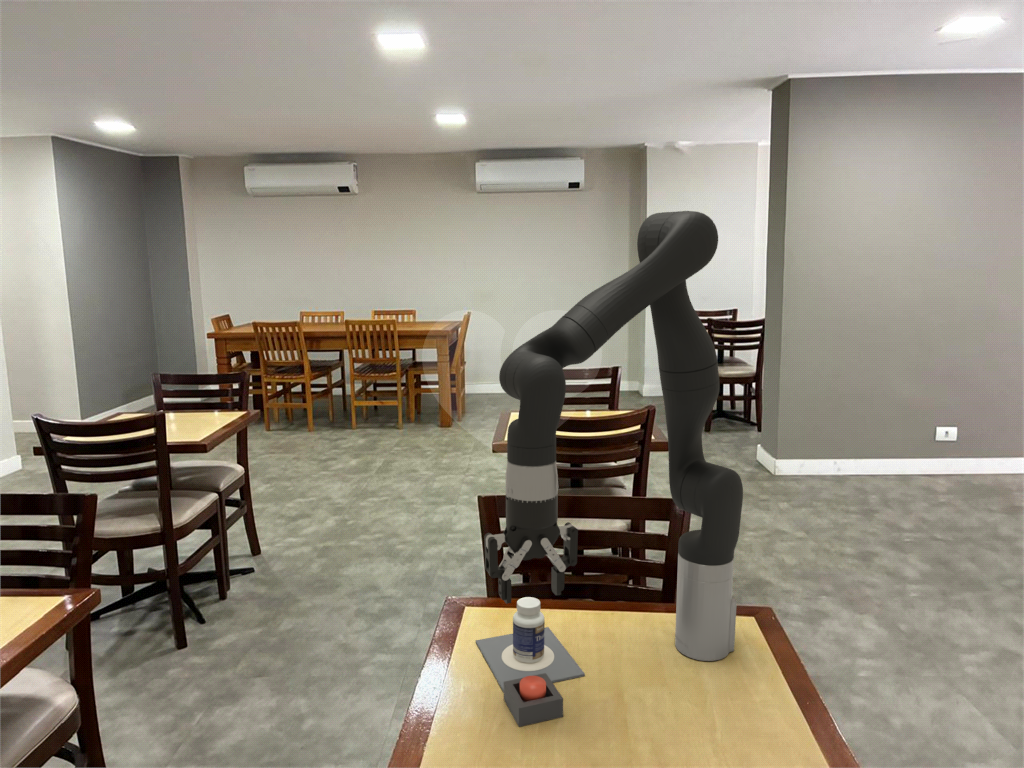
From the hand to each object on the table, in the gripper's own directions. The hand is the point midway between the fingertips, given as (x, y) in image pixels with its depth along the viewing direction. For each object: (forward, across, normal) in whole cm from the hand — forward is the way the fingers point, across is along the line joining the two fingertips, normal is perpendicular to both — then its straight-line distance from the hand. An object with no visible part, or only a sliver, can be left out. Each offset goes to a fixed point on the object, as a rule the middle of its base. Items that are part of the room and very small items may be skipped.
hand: (531, 596), depth 104 cm
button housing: (+18, 0, 0) cm, 18 cm away
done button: (+16, 0, 0) cm, 16 cm away
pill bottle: (+18, -4, -13) cm, 22 cm away
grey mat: (+18, -4, -13) cm, 22 cm away
